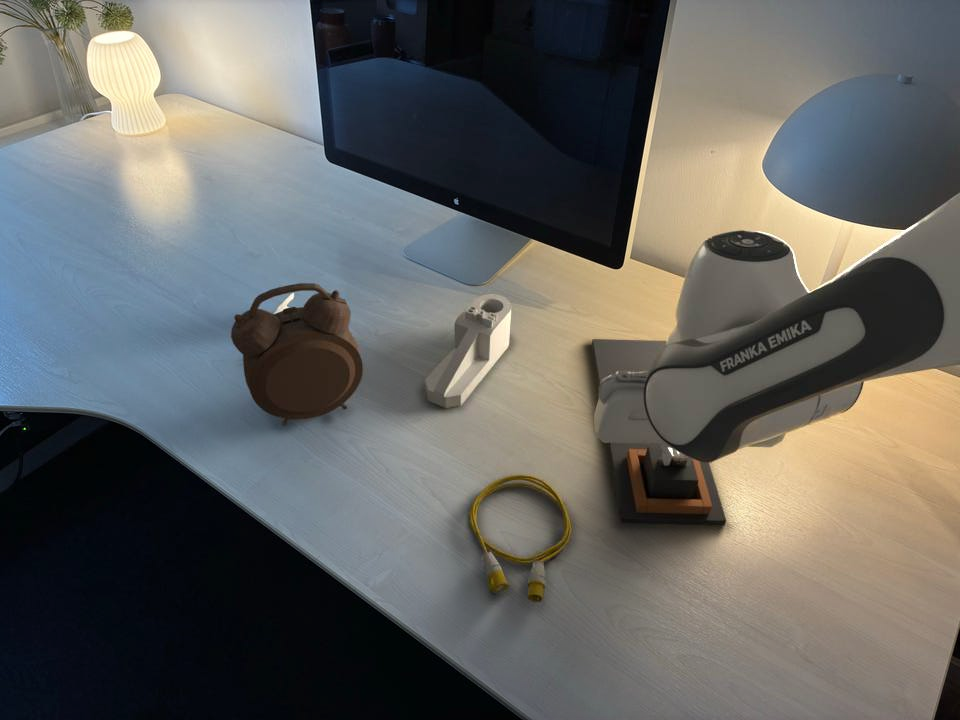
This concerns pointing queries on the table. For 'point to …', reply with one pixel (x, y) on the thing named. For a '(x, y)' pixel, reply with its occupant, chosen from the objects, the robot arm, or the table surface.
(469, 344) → the angled bracket with hole
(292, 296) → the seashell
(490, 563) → the extension cord
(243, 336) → the alarm clock
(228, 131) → the table surface
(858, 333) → the robot arm
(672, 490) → the black block
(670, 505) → the base pad
